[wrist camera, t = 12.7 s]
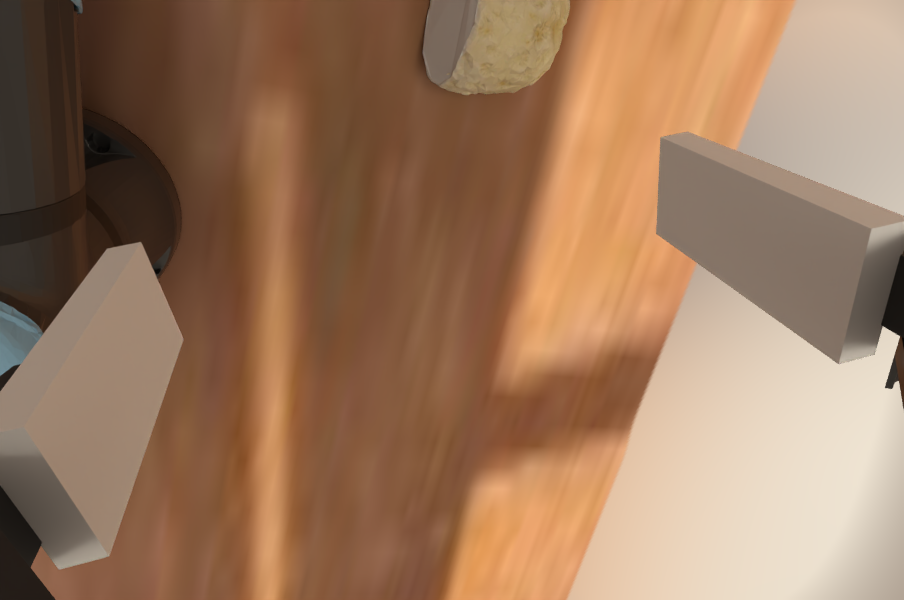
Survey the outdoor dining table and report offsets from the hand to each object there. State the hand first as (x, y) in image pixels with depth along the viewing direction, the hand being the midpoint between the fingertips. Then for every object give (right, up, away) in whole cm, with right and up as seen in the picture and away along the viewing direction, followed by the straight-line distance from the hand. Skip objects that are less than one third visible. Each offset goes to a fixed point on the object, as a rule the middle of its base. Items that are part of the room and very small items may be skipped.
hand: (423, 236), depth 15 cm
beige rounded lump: (+3, +19, +29) cm, 34 cm away
